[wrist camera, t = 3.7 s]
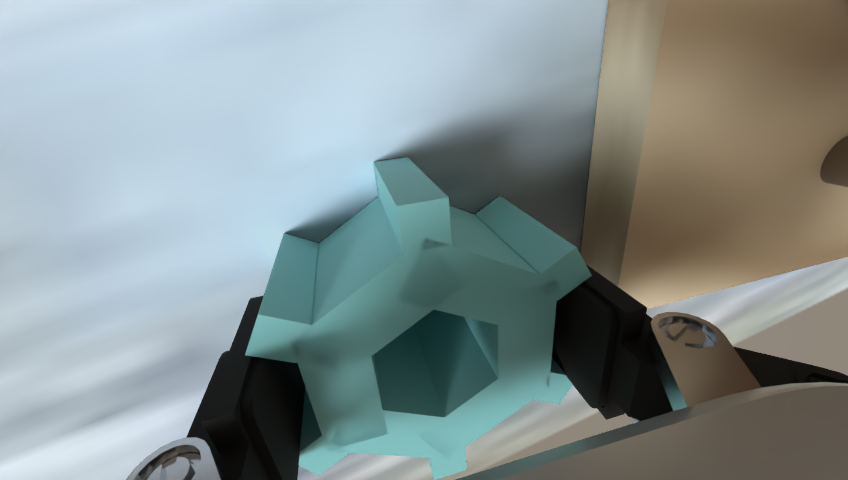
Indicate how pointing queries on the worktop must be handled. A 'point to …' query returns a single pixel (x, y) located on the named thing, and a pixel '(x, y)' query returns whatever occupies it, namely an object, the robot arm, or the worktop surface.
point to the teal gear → (417, 323)
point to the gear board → (718, 144)
